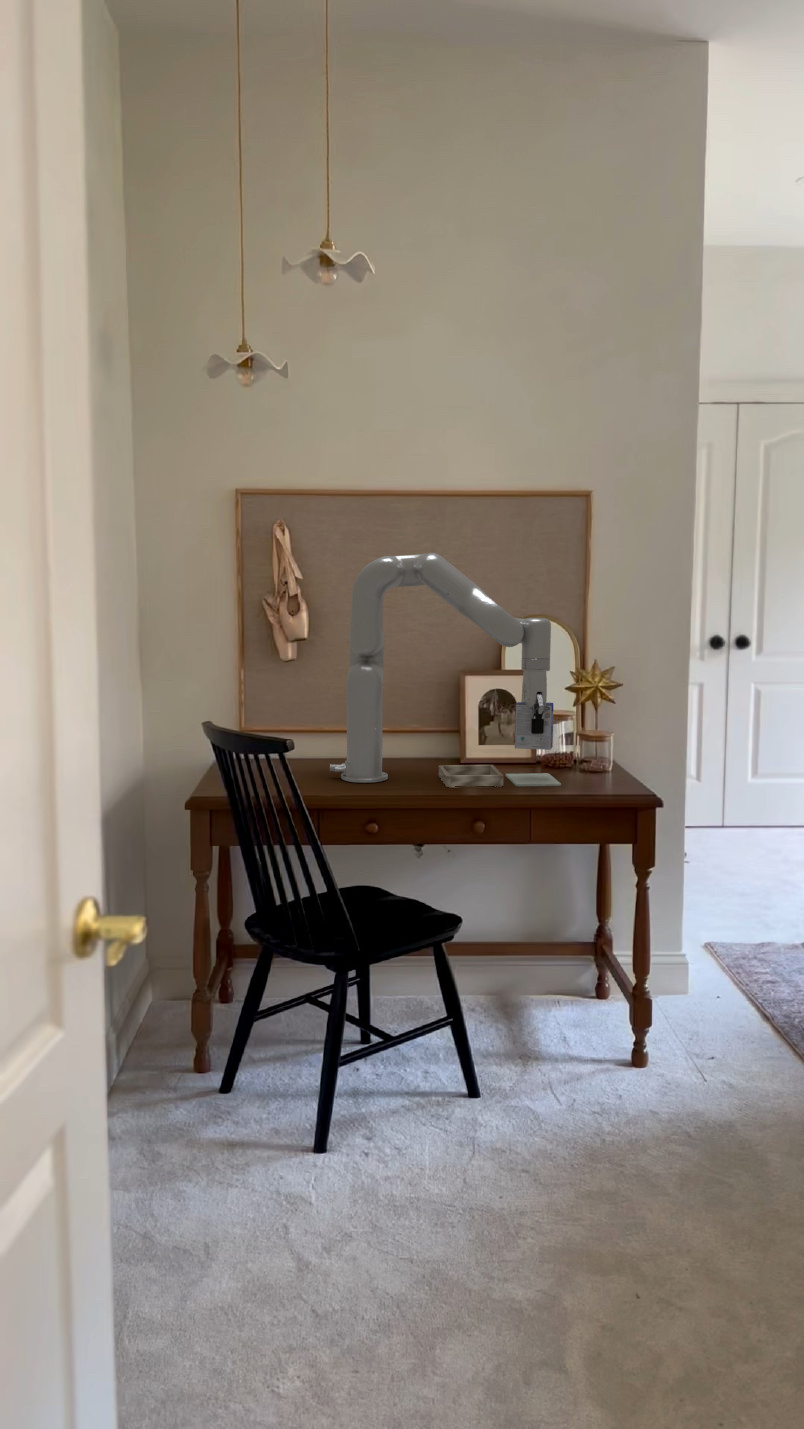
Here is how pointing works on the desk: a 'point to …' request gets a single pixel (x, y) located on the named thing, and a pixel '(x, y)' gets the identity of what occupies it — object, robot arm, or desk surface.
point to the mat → (533, 779)
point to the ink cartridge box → (523, 728)
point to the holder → (470, 775)
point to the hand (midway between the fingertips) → (534, 730)
